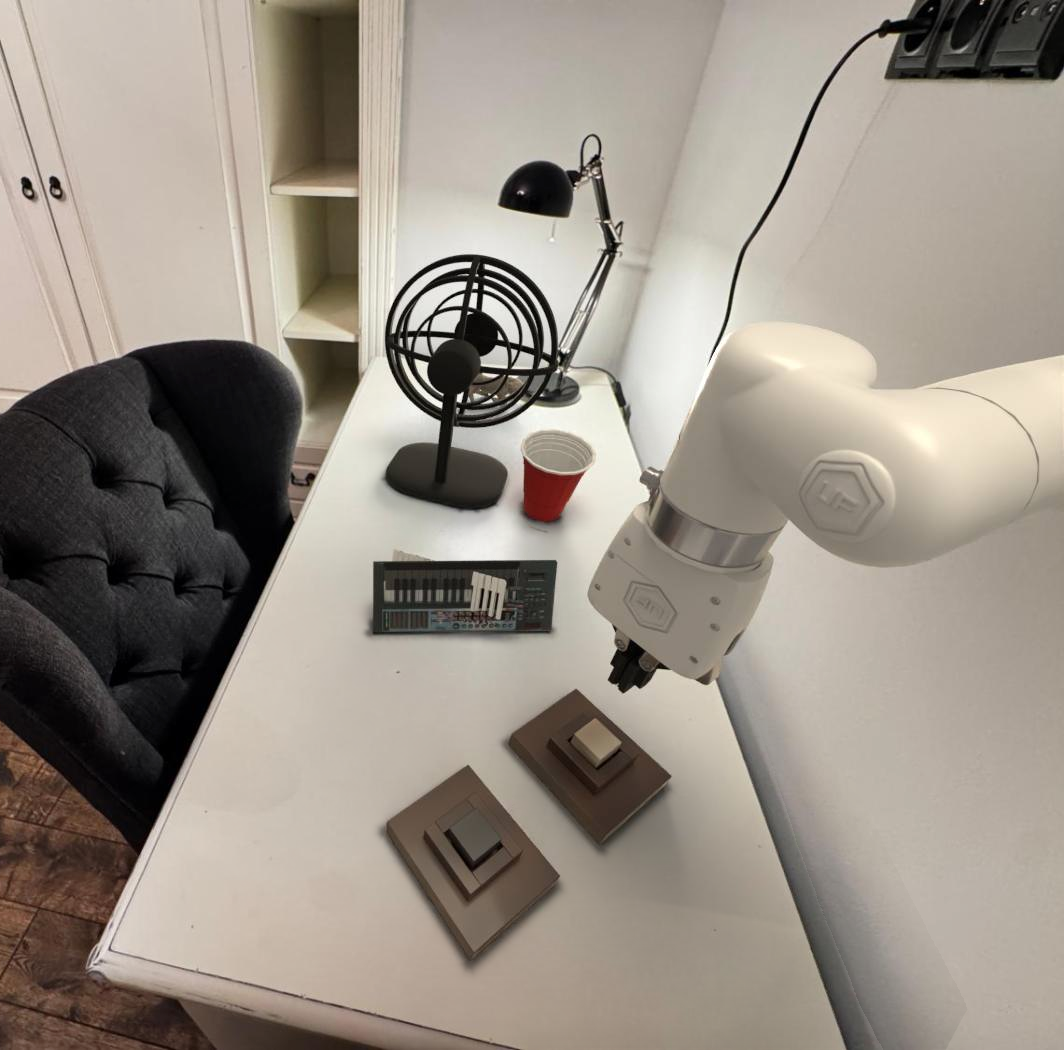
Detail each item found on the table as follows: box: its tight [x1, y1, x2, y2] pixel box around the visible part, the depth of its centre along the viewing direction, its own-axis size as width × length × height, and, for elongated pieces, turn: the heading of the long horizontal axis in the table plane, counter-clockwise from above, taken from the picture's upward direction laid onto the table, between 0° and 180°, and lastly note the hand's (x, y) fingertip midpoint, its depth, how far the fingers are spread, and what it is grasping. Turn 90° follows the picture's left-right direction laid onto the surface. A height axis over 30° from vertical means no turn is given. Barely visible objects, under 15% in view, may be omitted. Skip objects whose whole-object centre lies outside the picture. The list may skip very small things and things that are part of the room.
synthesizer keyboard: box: [372, 548, 558, 633], centre depth 71 cm, size 22×10×10 cm
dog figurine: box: [468, 373, 527, 408], centre depth 117 cm, size 12×6×7 cm, turn 74°
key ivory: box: [570, 718, 621, 768], centre depth 56 cm, size 3×3×2 cm
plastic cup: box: [520, 428, 597, 522], centre depth 87 cm, size 11×11×12 cm
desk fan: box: [384, 253, 560, 509], centre depth 88 cm, size 27×18×35 cm, turn 67°
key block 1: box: [385, 764, 561, 961], centre depth 51 cm, size 12×10×4 cm
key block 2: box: [508, 688, 673, 845], centre depth 58 cm, size 12×10×4 cm
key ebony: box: [448, 808, 502, 869], centre depth 49 cm, size 3×3×2 cm
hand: (626, 679), depth 50 cm, fingers closed
